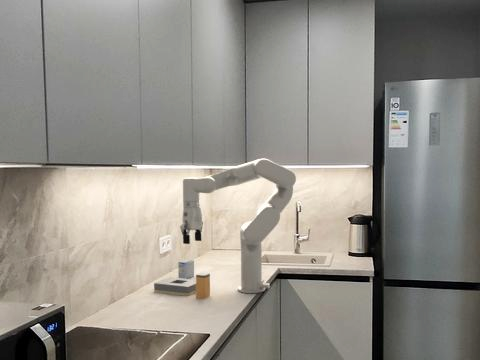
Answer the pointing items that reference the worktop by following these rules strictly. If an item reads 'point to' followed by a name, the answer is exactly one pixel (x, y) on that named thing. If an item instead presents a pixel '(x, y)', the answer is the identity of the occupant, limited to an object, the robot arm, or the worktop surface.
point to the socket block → (176, 286)
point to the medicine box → (186, 269)
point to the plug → (202, 285)
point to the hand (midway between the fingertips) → (192, 242)
